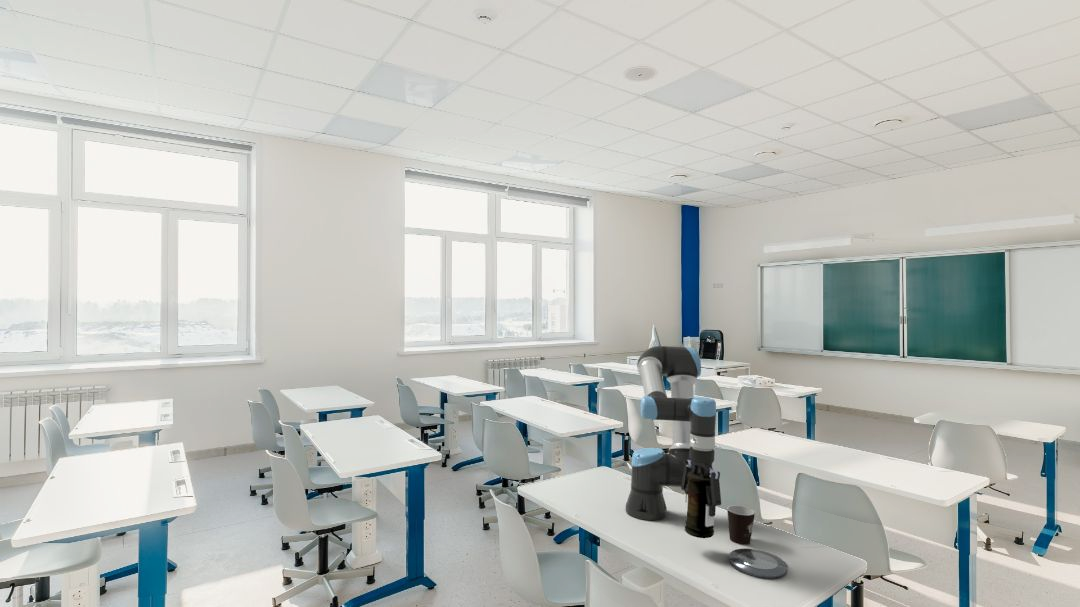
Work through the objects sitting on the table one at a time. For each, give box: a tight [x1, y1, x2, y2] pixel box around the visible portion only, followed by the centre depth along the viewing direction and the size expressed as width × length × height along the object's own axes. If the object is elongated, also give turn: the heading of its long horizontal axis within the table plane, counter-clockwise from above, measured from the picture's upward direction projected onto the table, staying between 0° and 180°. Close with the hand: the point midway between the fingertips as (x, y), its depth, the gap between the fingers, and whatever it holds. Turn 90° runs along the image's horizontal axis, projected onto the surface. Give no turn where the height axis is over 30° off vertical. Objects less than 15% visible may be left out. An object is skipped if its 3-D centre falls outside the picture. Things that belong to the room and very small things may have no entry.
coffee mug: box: [726, 504, 756, 546], centre depth 174 cm, size 12×9×10 cm
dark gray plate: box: [728, 548, 788, 580], centre depth 156 cm, size 16×16×2 cm
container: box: [684, 472, 715, 539], centre depth 164 cm, size 9×9×18 cm
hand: (699, 519), depth 164 cm, fingers closed on container, 8 cm apart
